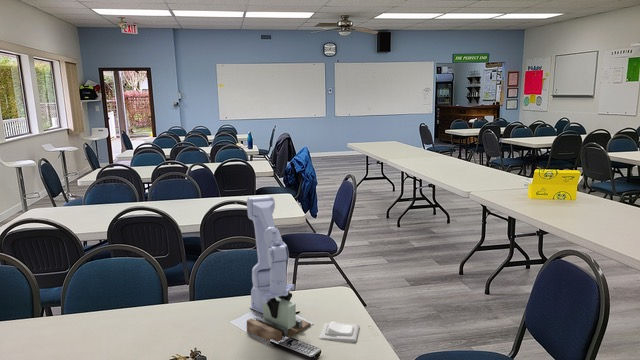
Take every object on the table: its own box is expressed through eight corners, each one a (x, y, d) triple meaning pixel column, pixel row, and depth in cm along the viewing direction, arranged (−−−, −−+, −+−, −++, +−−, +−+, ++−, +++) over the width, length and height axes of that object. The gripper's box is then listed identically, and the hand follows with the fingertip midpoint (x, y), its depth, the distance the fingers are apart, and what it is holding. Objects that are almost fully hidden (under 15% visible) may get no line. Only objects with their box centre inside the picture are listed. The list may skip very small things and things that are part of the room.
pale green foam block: (287, 329, 154) (287, 307, 153) (263, 319, 162) (263, 298, 160) (297, 324, 158) (297, 302, 157) (272, 314, 165) (272, 293, 164)
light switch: (323, 316, 163) (358, 317, 161) (324, 327, 164) (359, 328, 161) (317, 331, 153) (355, 332, 150) (318, 342, 153) (356, 344, 151)
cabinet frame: (246, 331, 158) (246, 320, 158) (280, 313, 171) (280, 303, 171) (277, 345, 149) (277, 334, 148) (310, 325, 162) (310, 315, 161)
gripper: (271, 288, 149) (272, 326, 151) (300, 275, 160) (300, 310, 162) (256, 283, 153) (257, 320, 156) (286, 270, 164) (286, 305, 167)
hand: (278, 315), depth 159 cm, fingers closed on pale green foam block, 4 cm apart
